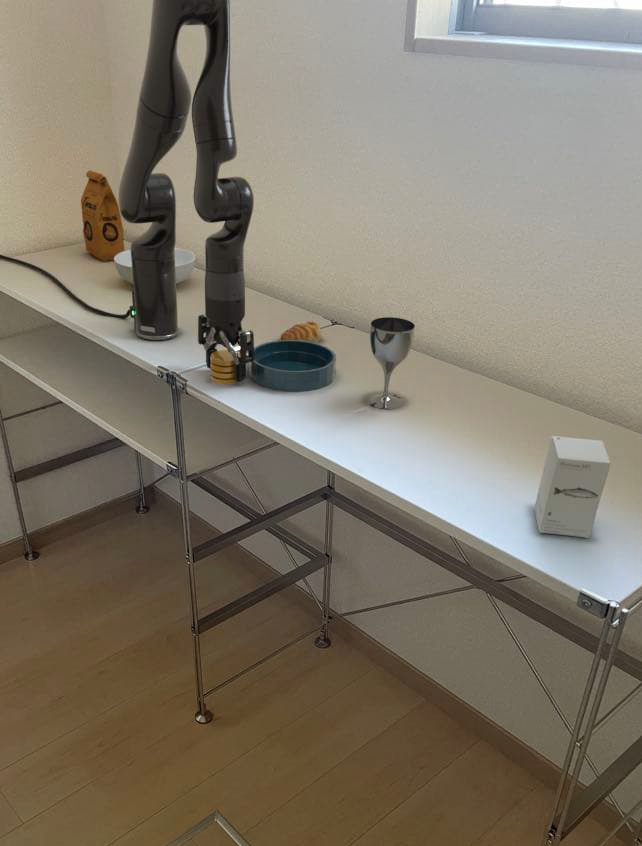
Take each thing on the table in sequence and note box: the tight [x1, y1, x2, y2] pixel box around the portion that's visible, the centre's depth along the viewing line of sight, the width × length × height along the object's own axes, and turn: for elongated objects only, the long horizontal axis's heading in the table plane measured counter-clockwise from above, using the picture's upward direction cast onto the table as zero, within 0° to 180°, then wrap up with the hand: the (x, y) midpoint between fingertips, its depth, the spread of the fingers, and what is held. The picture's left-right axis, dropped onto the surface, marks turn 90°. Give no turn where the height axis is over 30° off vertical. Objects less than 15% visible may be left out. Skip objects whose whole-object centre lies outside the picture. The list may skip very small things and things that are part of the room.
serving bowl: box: [113, 247, 196, 285], centre depth 215 cm, size 21×21×7 cm
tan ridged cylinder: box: [210, 349, 241, 385], centre depth 163 cm, size 6×6×5 cm
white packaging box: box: [533, 435, 612, 539], centre depth 119 cm, size 7×7×13 cm
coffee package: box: [80, 170, 125, 262], centre depth 231 cm, size 10×12×22 cm
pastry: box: [280, 321, 324, 343], centre depth 182 cm, size 9×7×4 cm
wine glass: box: [369, 316, 416, 410], centre depth 154 cm, size 8×8×15 cm
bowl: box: [248, 339, 337, 393], centre depth 165 cm, size 17×17×4 cm
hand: (225, 374), depth 164 cm, fingers open, 8 cm apart
